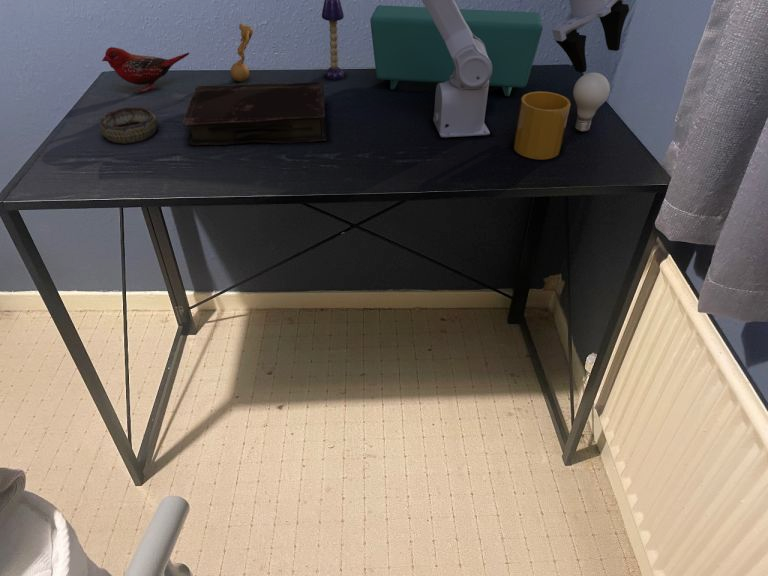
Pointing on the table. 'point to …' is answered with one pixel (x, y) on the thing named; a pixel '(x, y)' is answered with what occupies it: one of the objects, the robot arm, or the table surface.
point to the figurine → (242, 55)
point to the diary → (257, 114)
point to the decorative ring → (128, 134)
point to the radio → (431, 56)
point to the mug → (541, 125)
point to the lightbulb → (589, 97)
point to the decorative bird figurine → (139, 67)
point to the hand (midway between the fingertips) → (597, 60)
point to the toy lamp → (333, 35)
